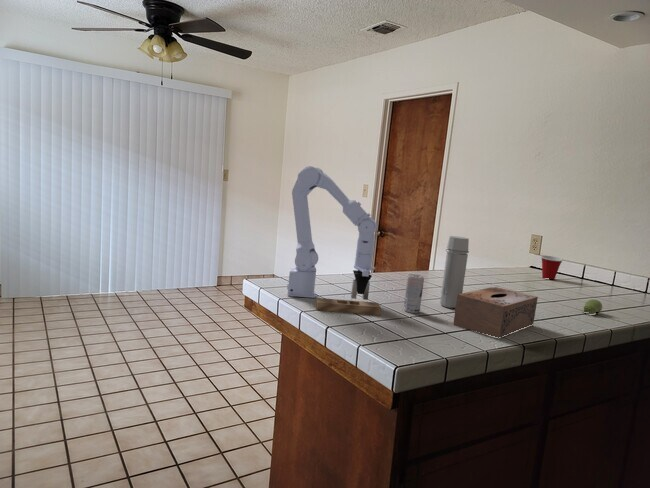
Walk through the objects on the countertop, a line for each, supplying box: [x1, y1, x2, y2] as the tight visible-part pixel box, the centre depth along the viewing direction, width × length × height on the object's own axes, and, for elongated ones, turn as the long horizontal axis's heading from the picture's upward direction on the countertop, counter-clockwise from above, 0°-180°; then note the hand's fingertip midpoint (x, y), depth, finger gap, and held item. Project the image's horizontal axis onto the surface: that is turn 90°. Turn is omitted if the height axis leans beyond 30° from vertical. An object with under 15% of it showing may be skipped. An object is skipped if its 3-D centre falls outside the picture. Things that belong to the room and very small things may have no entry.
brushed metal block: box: [350, 279, 371, 301], centre depth 153 cm, size 6×2×6 cm, turn 93°
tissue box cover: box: [452, 286, 539, 338], centre depth 142 cm, size 26×14×10 cm, turn 135°
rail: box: [315, 297, 382, 316], centre depth 143 cm, size 20×5×2 cm, turn 93°
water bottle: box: [439, 235, 470, 309], centre depth 159 cm, size 9×8×25 cm
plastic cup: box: [540, 255, 564, 280], centre depth 242 cm, size 11×11×12 cm
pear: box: [582, 299, 603, 314], centre depth 172 cm, size 6×5×10 cm
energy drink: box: [403, 273, 425, 314], centre depth 149 cm, size 5×5×12 cm
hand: (359, 292), depth 153 cm, fingers closed on brushed metal block, 2 cm apart
